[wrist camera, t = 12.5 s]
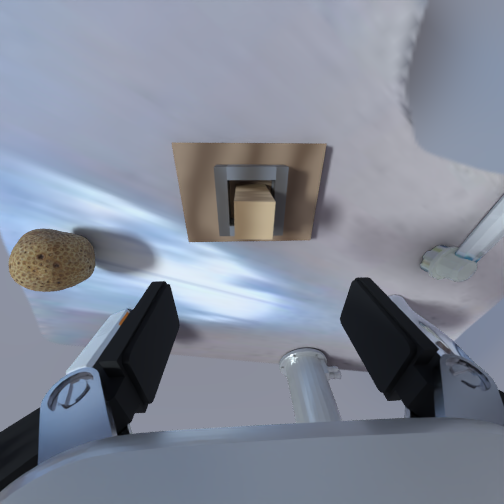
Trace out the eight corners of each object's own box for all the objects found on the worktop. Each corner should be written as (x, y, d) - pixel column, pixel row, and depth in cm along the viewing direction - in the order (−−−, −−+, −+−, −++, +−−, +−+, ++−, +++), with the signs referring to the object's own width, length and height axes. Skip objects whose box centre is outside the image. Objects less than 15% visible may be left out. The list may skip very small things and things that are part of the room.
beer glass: (381, 292, 40) (448, 362, 27) (411, 293, 41) (492, 363, 28) (368, 315, 44) (423, 388, 30) (397, 316, 44) (462, 388, 31)
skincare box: (146, 325, 42) (114, 385, 31) (130, 331, 42) (93, 391, 32) (127, 307, 39) (85, 366, 29) (110, 313, 40) (63, 373, 29)
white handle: (617, 142, 24) (469, 295, 32) (539, 148, 31) (430, 276, 38) (598, 120, 23) (449, 285, 31) (521, 132, 29) (412, 267, 37)
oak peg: (264, 183, 27) (275, 201, 18) (263, 211, 29) (272, 239, 20) (236, 183, 27) (233, 201, 18) (236, 211, 29) (234, 239, 20)
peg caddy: (322, 143, 26) (338, 143, 22) (307, 236, 33) (317, 250, 29) (175, 142, 25) (161, 142, 21) (191, 238, 32) (183, 252, 28)
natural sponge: (112, 272, 35) (68, 315, 26) (56, 260, 33) (-10, 300, 24) (112, 229, 31) (61, 261, 22) (49, 211, 29) (-34, 239, 20)
